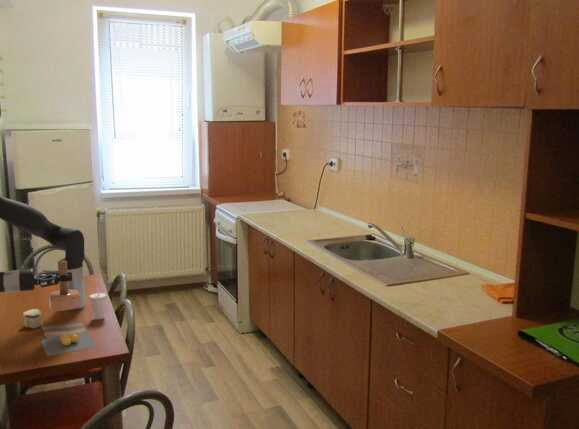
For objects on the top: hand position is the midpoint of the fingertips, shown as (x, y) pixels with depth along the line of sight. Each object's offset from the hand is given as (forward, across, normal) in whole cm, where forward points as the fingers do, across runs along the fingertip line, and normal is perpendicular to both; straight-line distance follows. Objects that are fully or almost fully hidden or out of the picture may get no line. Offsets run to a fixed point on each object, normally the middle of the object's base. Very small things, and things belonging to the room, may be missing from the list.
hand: (71, 276), depth 202 cm
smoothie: (+9, +12, +22) cm, 27 cm away
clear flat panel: (-4, +4, +22) cm, 22 cm away
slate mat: (-2, -11, +22) cm, 24 cm away
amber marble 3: (0, -11, +20) cm, 22 cm away
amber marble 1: (-3, -10, +20) cm, 22 cm away
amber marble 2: (-3, -13, +20) cm, 24 cm away
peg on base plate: (-3, 0, +11) cm, 11 cm away
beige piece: (-15, +13, +22) cm, 30 cm away
